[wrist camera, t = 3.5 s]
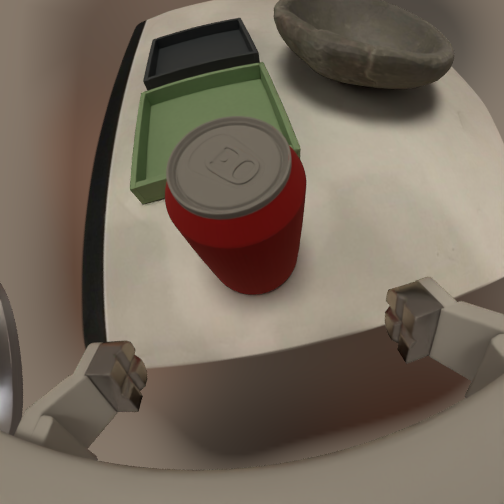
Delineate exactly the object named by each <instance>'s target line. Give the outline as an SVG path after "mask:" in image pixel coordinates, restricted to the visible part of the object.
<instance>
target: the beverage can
mask: <svg viewBox="0 0 504 504" xmlns="http://www.w3.org/2000/svg"><path fill="white" fill-rule="evenodd" d="M166 179H167V182H166V187H165V202H166V208H167V211H168V214H169V216H170V218H171V220H172V222H173V223H174V225H175V226H176V227H177V229H178V230H179V231H180V233H181V234H182V235H183V236H184V238H185V239H186V240H187V242H188V243H189V244H190V245H191V247H192V248H193V249H194V250H195V251H196V253H197V254H198V255H199V256H200V258H201V259H202V260H203V261H204V262H205V263H206V265H207V266H208V267H209V268H210V269H211V270H212V271H213V273H214V274H215V275H216V276H217V277H218V278H219V279H220V280H221V281H222V282H223V283H224V284H225V285H226V286H227V287H229V288H231V289H232V290H234V291H237V292H239V293H243V294H262V293H266V292H269V291H272V290H274V289H276V288H277V287H279V286H280V285H282V284H283V283H284V282H285V281H286V280H287V279H288V278H289V276H290V275H291V273H292V272H293V270H294V268H295V265H296V262H297V257H298V251H299V245H300V238H301V230H302V223H303V214H304V204H305V193H306V175H305V170H304V167H303V165H302V162H301V160H300V159H299V157H298V155H297V154H296V152H295V151H294V150H293V149H292V148H291V147H290V146H289V144H288V142H287V140H286V139H285V137H284V136H283V135H282V134H281V132H280V131H279V130H277V129H276V128H275V127H274V126H272V125H270V124H269V123H267V122H265V121H262V120H259V119H256V118H252V117H245V116H229V117H222V118H218V119H214V120H211V121H209V122H206V123H204V124H202V125H200V126H198V127H196V128H195V129H193V130H192V131H190V132H189V133H188V134H186V135H185V136H184V137H183V138H182V139H181V140H180V141H179V142H178V144H177V145H176V146H175V148H174V149H173V151H172V153H171V155H170V157H169V160H168V163H167V168H166Z"/></svg>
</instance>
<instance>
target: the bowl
mask: <svg viewBox="0 0 504 504" xmlns="http://www.w3.org/2000/svg"><path fill="white" fill-rule="evenodd" d="M274 21H275V23H276V26H277V29H278V31H279V34H280V35H281V37H282V38H283V40H284V41H285V43H286V44H287V45H288V46H289V48H290V49H291V50H292V51H293V52H294V53H295V54H296V55H297V56H299V57H300V58H301V59H302V60H303V61H304V62H306V63H307V64H308V65H309V66H310V67H311V68H312V69H313V70H314V71H316V72H317V73H318V74H320V75H322V76H324V77H326V78H329V79H333V80H336V81H340V82H343V83H347V84H354V85H360V86H368V87H374V88H388V89H409V88H416V87H420V86H424V85H427V84H430V83H433V82H435V81H437V80H439V79H440V78H441V77H442V76H444V75H445V74H446V73H447V71H448V70H449V69H450V67H451V66H452V63H453V60H454V51H453V48H452V46H451V44H450V42H449V41H448V40H447V39H446V37H445V36H444V35H443V34H442V33H441V32H440V31H438V30H437V29H436V28H435V27H433V26H432V25H431V24H430V23H428V22H426V21H425V20H423V19H421V18H420V17H418V16H416V15H414V14H412V13H410V12H408V11H407V10H405V9H402V8H400V7H398V6H396V5H393V4H390V3H387V2H385V1H382V0H279V1H278V2H277V4H276V5H275V7H274Z"/></svg>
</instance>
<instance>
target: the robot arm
mask: <svg viewBox="0 0 504 504" xmlns="http://www.w3.org/2000/svg"><path fill="white" fill-rule="evenodd" d="M386 302H387V303H388V304H389V308H388V309H387V311H386V312H385V325H386V330H387V332H388V335H389V336H390V338H391V340H393V341H395V342H397V343H399V344H398V351H399V352H400V354H401V356H402V357H403V359H404V361H405V362H406V363H410V362H412V361H415V360H418V359H421V358H423V357H425V356H428V355H429V356H430V357H431V358H433V359H434V360H436V361H438V362H440V363H441V364H443V365H445V366H447V367H448V368H450V369H452V370H454V371H455V372H457V373H459V374H461V375H462V376H464V377H466V378H467V379H469V380H471V381H472V382H471V384H470V386H469V388H468V390H467V392H466V394H465V399H463V400H462V401H460V402H458V403H457V404H454V405H453V406H451V407H449V408H447V409H445V410H443V411H441V412H439V413H437V414H435V415H433V416H431V417H429V418H427V419H425V420H423V421H421V422H418V423H416V424H414V425H412V426H409V427H407V428H404V429H402V430H399V431H397V432H394V433H392V434H390V435H387V436H384V437H381V438H378V439H375V440H373V441H370V442H366V443H364V444H360V445H357V446H354V447H350V448H347V449H344V450H340V451H336V452H332V453H328V454H324V455H320V456H316V457H311V458H307V459H301V460H296V461H291V462H285V463H279V464H272V465H264V466H256V467H246V468H234V469H215V470H175V469H157V468H146V467H135V466H128V465H120V464H114V463H108V462H102V461H97V460H98V459H97V457H96V455H94V454H93V453H92V452H90V451H89V450H88V448H89V446H90V445H91V444H92V443H93V442H94V440H95V439H96V438H97V437H98V436H99V434H100V433H101V432H102V431H103V430H104V428H105V427H106V426H107V425H108V424H109V422H110V421H111V420H112V419H113V418H114V416H115V415H116V414H117V412H138V411H139V408H140V403H141V400H142V397H143V396H142V394H141V392H140V391H141V390H142V389H143V388H144V387H145V386H146V381H147V370H146V367H145V365H144V363H143V361H142V360H141V359H140V358H139V357H137V356H136V355H135V348H134V346H133V345H132V343H131V342H129V341H114V342H103V343H102V342H100V343H92V344H90V345H88V347H87V349H86V351H85V353H84V354H83V356H82V358H81V360H80V362H79V364H78V365H77V367H76V369H75V371H74V373H73V375H70V376H68V377H67V378H65V379H64V380H63V381H61V382H60V383H59V384H58V385H56V386H55V387H54V388H53V389H51V390H50V391H49V392H48V393H46V394H45V395H44V396H43V397H41V398H40V399H39V400H38V401H36V402H35V403H34V404H33V405H32V406H30V407H29V408H28V409H26V411H25V413H24V415H23V417H22V419H21V421H20V423H19V425H18V427H17V430H16V432H15V434H14V436H12V435H10V434H8V433H5V432H3V431H1V430H0V504H504V314H501V313H498V312H495V311H491V310H488V309H485V308H482V307H479V306H475V305H472V304H469V303H466V302H463V301H460V302H457V301H456V300H455V299H454V298H453V297H452V296H451V295H450V294H448V293H447V292H446V291H445V290H444V289H443V288H442V287H441V286H440V285H439V284H438V283H437V282H436V281H435V280H434V279H432V278H431V277H425V278H422V279H419V280H416V281H415V282H412V283H409V284H405V285H402V286H399V287H396V288H392V289H389V290H388V292H387V296H386Z"/></svg>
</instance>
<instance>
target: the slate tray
mask: <svg viewBox="0 0 504 504" xmlns="http://www.w3.org/2000/svg"><path fill="white" fill-rule="evenodd" d="M254 63H260V62H259V53H258V51H257V49H256V47H255V45H254V43H253V41H252V39H251V37H250V35H249V33H248V31H247V29H246V27H245V26H244V24H243V22H242V20H241V18H236V19H230V20H225V21H220V22H215V23H211V24H206V25H202V26H198V27H194V28H190V29H186V30H183V31H179V32H176V33H172V34H169V35H166V36H163V37H160V38H157V39H154V40H153V41H152V45H151V49H150V53H149V58H148V62H147V67H146V71H145V76H144V81H143V82H144V84H145V86H146V88H147V90H151V89H154V88H157V87H160V86H163V85H166V84H169V83H173V82H176V81H179V80H183V79H186V78H190V77H194V76H197V75H201V74H205V73H209V72H214V71H218V70H223V69H227V68H232V67H237V66H243V65H248V64H254Z"/></svg>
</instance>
